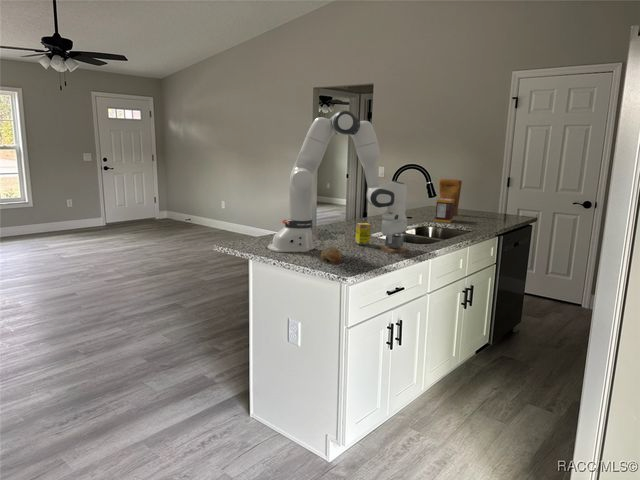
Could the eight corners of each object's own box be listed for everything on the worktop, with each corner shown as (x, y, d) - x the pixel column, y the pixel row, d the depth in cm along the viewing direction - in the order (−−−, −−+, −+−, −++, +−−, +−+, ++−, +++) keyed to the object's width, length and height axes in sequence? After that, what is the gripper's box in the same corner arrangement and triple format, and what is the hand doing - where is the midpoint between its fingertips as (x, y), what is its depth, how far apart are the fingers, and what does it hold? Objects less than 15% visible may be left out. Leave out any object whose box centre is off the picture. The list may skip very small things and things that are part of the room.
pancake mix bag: (456, 216, 355) (459, 180, 350) (435, 213, 368) (438, 178, 363) (460, 216, 360) (464, 179, 354) (439, 212, 373) (442, 178, 368)
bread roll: (318, 269, 202) (315, 254, 198) (325, 255, 210) (323, 241, 205) (339, 272, 199) (337, 257, 194) (346, 257, 207) (344, 243, 202)
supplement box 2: (453, 220, 337) (455, 198, 334) (449, 222, 324) (451, 200, 321) (438, 218, 342) (440, 197, 338) (434, 221, 328) (436, 199, 325)
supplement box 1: (359, 245, 236) (360, 224, 234) (355, 243, 242) (356, 222, 240) (369, 245, 238) (371, 224, 236) (365, 243, 244) (366, 222, 241)
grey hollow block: (396, 248, 224) (397, 238, 223) (385, 246, 228) (385, 236, 227) (402, 246, 229) (403, 236, 228) (391, 244, 233) (391, 234, 232)
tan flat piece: (389, 253, 222) (390, 244, 221) (378, 248, 232) (378, 240, 231) (409, 251, 226) (409, 243, 226) (397, 247, 236) (397, 239, 235)
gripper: (400, 211, 236) (398, 238, 238) (380, 215, 220) (378, 244, 222) (411, 213, 232) (409, 240, 235) (391, 217, 216) (389, 246, 219)
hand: (394, 242), depth 228 cm, fingers closed on grey hollow block, 6 cm apart
